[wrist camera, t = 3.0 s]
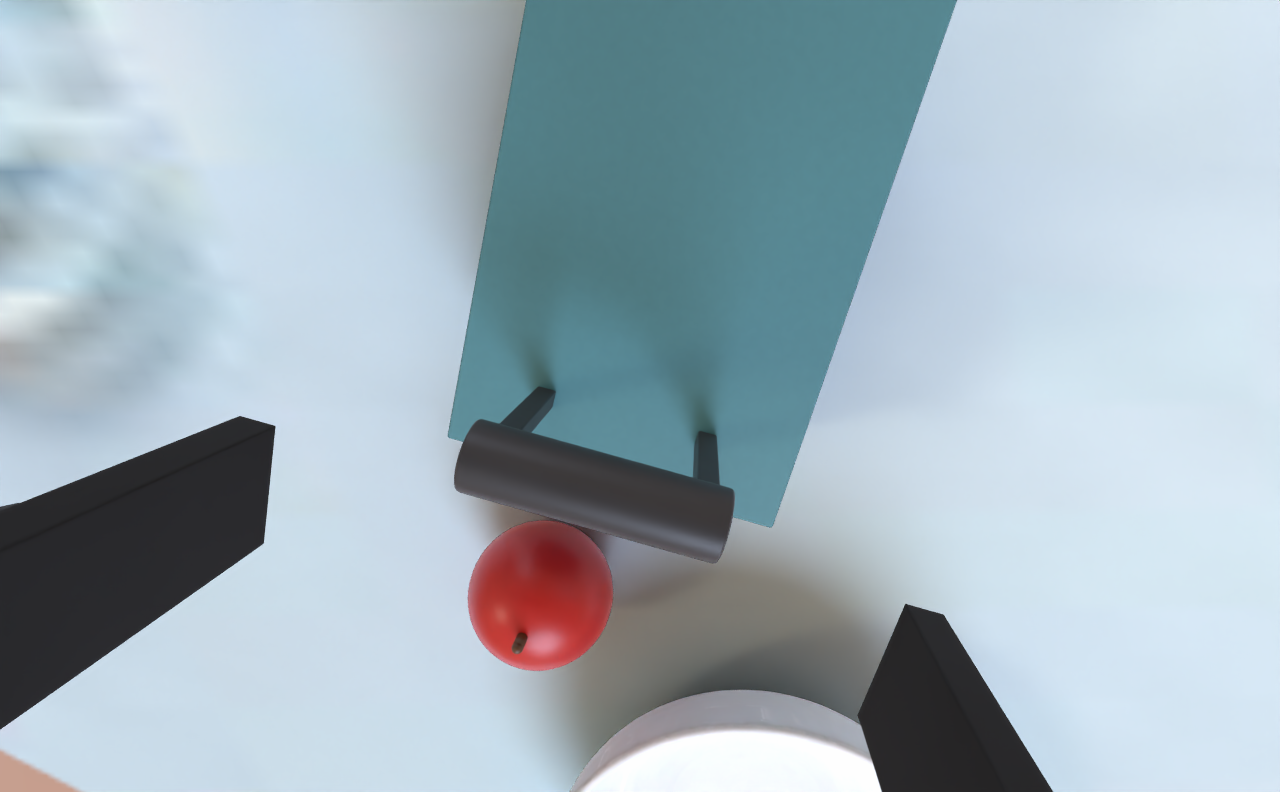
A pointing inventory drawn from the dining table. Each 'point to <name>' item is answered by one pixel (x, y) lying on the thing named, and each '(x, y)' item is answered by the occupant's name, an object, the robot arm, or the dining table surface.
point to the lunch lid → (678, 252)
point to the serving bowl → (734, 748)
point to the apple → (540, 595)
